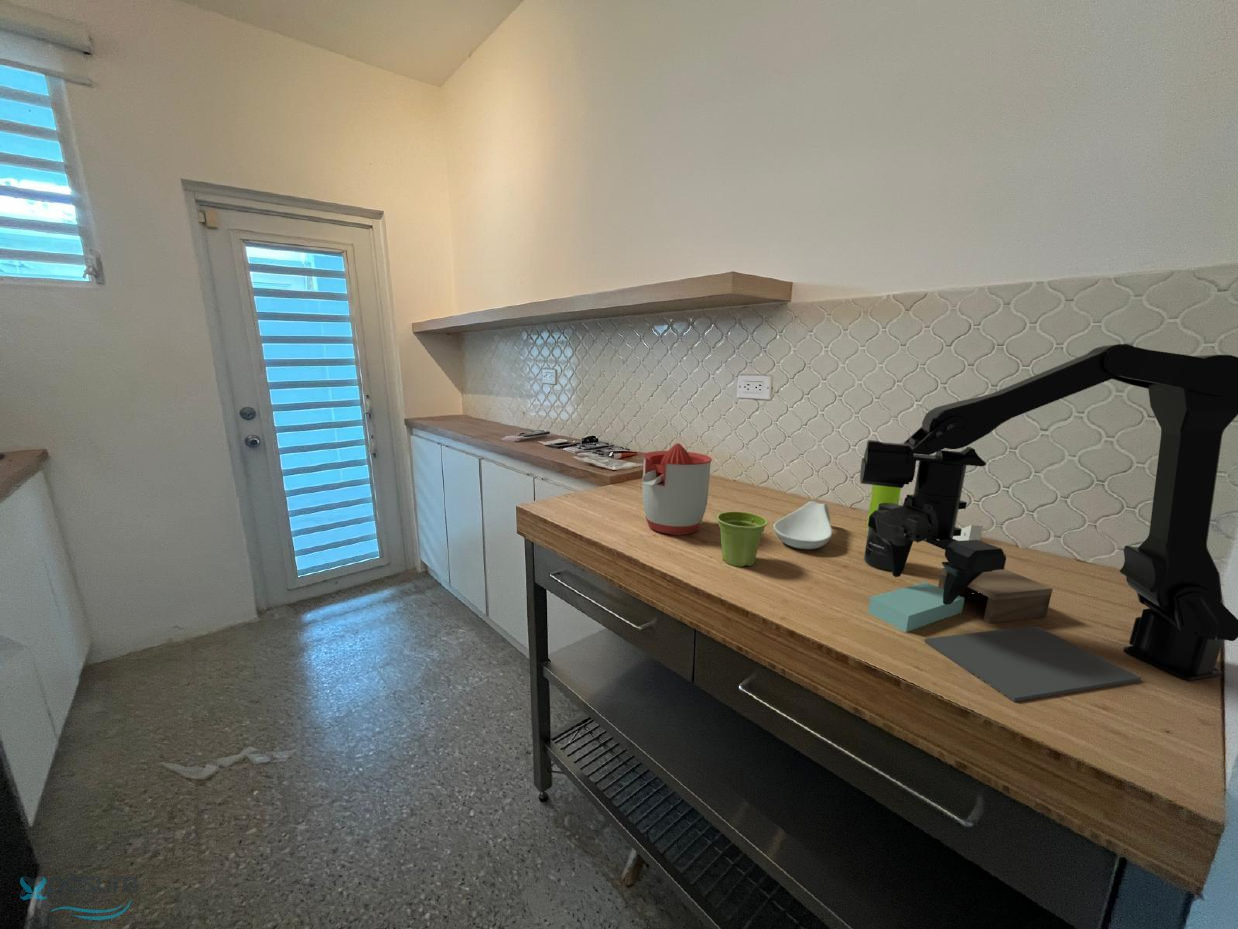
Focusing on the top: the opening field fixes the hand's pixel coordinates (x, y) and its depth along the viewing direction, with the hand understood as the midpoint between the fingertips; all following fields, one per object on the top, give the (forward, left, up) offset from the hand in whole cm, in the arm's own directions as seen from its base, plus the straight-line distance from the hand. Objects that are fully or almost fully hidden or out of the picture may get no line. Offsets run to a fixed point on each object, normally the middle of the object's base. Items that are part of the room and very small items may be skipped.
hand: (920, 589), depth 71 cm
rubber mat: (-13, -4, -4) cm, 14 cm away
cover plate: (0, 0, -4) cm, 4 cm away
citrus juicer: (+43, +26, -4) cm, 50 cm away
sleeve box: (0, -14, -4) cm, 15 cm away
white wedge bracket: (+12, -23, -4) cm, 27 cm away
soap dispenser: (+36, -25, -4) cm, 44 cm away
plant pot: (+23, +19, -4) cm, 30 cm away
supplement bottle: (+17, -9, -4) cm, 20 cm away
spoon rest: (+33, -4, -4) cm, 34 cm away
